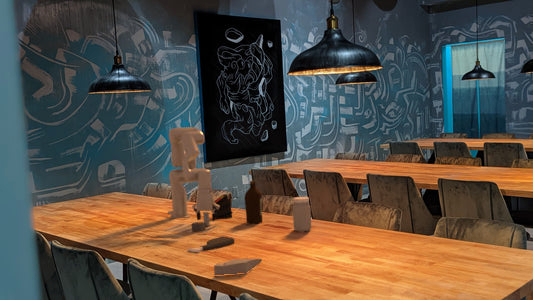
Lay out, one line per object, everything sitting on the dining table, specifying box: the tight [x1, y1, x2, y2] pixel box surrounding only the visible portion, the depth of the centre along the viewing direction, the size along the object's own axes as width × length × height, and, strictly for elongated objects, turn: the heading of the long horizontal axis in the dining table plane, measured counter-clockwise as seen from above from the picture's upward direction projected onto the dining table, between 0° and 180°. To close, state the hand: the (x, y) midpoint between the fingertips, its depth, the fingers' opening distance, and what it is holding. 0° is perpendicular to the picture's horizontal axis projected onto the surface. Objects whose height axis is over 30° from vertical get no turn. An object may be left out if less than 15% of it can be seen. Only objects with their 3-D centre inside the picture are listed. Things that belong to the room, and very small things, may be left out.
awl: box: [202, 211, 211, 227], centre depth 319 cm, size 3×3×8 cm
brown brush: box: [187, 236, 235, 254], centre depth 274 cm, size 3×11×24 cm
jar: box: [292, 196, 312, 232], centre depth 302 cm, size 10×10×18 cm
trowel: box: [213, 258, 263, 276], centre depth 233 cm, size 28×16×5 cm, turn 139°
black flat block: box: [214, 194, 233, 220], centre depth 347 cm, size 4×13×15 cm, turn 129°
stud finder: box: [191, 221, 205, 231], centre depth 310 cm, size 6×5×5 cm
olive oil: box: [244, 180, 263, 225], centre depth 330 cm, size 11×11×25 cm
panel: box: [162, 223, 221, 236], centre depth 316 cm, size 28×20×1 cm
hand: (206, 220), depth 319 cm, fingers open, 9 cm apart
